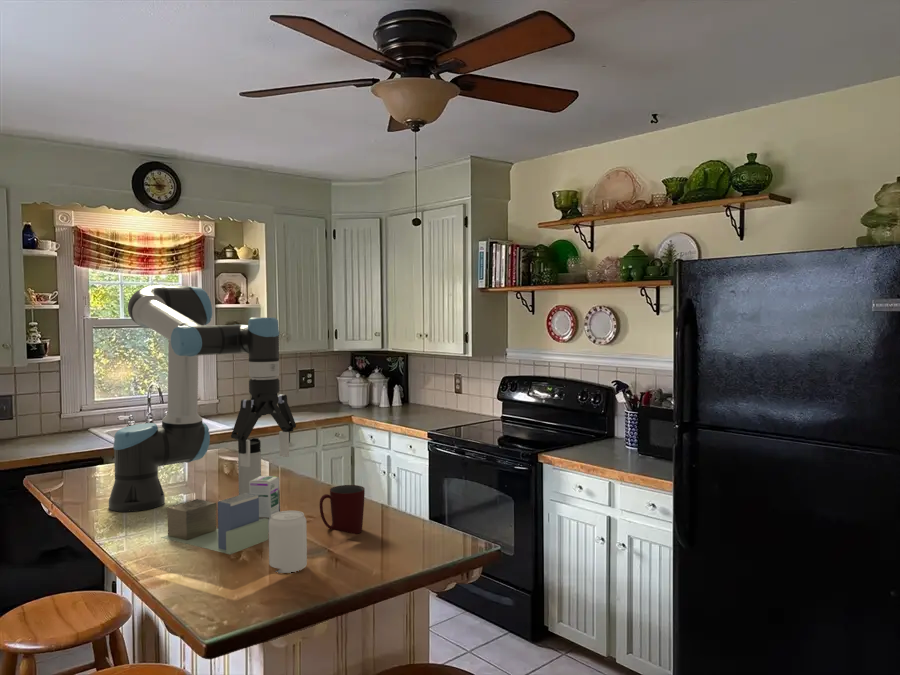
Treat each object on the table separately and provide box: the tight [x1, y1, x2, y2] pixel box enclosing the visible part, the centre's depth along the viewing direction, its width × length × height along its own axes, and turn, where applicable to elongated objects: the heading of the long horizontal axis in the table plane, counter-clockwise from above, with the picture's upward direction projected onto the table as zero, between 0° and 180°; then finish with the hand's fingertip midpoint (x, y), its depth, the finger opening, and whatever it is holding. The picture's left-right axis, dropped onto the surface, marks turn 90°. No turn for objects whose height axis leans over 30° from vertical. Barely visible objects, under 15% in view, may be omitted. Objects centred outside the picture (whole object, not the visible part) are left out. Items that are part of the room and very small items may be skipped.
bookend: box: [166, 499, 217, 540], centre depth 176 cm, size 7×9×7 cm
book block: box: [217, 493, 259, 550], centre depth 167 cm, size 4×9×11 cm, turn 149°
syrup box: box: [249, 475, 281, 534], centre depth 179 cm, size 6×6×14 cm
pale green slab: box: [160, 518, 269, 555], centre depth 172 cm, size 24×12×6 cm, turn 59°
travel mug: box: [237, 437, 262, 496], centre depth 203 cm, size 6×7×20 cm
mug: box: [319, 484, 366, 535], centre depth 181 cm, size 12×9×11 cm
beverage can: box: [268, 510, 308, 574], centre depth 155 cm, size 8×8×12 cm
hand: (265, 461), depth 179 cm, fingers open, 13 cm apart
